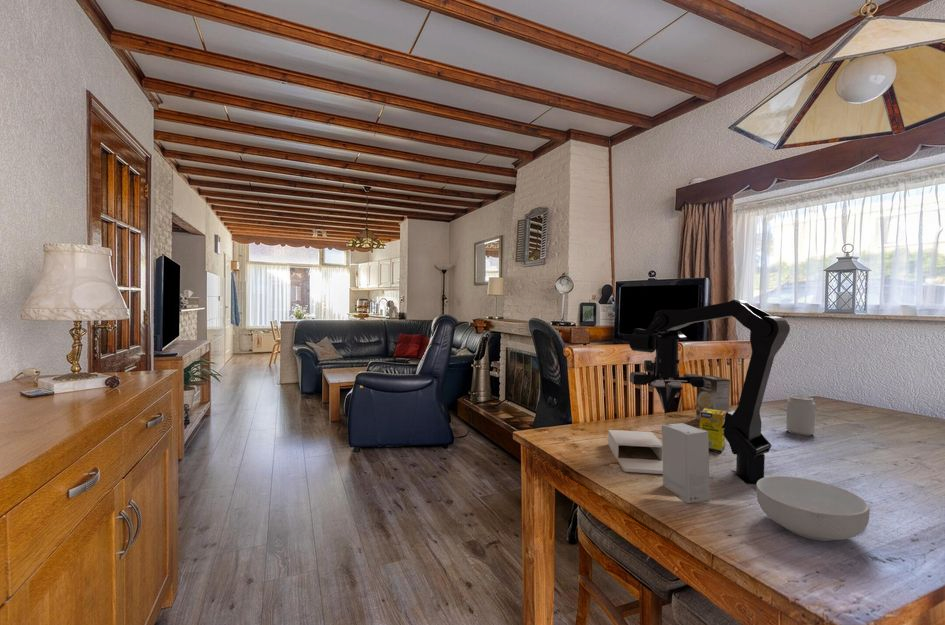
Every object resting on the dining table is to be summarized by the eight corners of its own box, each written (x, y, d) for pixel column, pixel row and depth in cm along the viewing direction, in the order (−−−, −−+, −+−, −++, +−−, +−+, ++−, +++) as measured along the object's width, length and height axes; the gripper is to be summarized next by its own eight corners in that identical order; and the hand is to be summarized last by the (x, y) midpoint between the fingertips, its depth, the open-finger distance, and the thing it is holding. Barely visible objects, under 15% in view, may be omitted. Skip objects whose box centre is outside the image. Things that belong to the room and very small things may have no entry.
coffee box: (694, 419, 160) (695, 375, 159) (708, 418, 162) (710, 374, 161) (714, 426, 151) (716, 379, 151) (729, 424, 153) (731, 379, 152)
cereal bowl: (770, 501, 93) (771, 468, 93) (875, 533, 81) (876, 495, 81) (742, 527, 82) (743, 489, 82) (859, 568, 70) (860, 524, 70)
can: (781, 429, 148) (782, 393, 148) (805, 430, 147) (806, 394, 147) (794, 435, 141) (795, 398, 141) (820, 437, 140) (821, 399, 140)
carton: (663, 464, 114) (664, 445, 113) (616, 461, 115) (616, 442, 115) (651, 449, 125) (651, 432, 125) (608, 446, 127) (608, 429, 127)
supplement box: (722, 453, 123) (723, 414, 123) (698, 449, 126) (699, 411, 126) (725, 448, 128) (726, 410, 127) (702, 443, 131) (703, 407, 131)
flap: (663, 464, 113) (675, 475, 104) (617, 461, 115) (624, 472, 106) (663, 460, 113) (675, 471, 104) (617, 457, 115) (624, 468, 106)
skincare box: (710, 502, 92) (712, 432, 92) (685, 504, 91) (687, 433, 91) (682, 485, 101) (684, 421, 100) (659, 487, 99) (661, 422, 99)
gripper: (691, 352, 129) (690, 404, 130) (626, 350, 132) (624, 402, 132) (706, 357, 118) (705, 414, 118) (634, 354, 121) (633, 411, 121)
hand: (665, 410), depth 123 cm, fingers closed
